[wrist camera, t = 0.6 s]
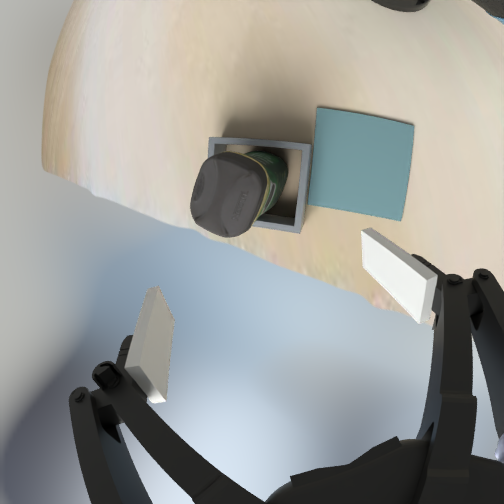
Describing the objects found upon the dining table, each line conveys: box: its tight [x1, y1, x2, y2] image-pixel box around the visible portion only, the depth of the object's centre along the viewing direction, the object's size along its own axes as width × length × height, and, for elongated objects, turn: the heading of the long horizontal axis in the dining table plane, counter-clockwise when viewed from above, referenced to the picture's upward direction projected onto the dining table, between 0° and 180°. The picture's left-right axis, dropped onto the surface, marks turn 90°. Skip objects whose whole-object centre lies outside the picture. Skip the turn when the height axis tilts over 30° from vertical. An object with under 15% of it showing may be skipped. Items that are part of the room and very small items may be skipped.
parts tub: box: [208, 137, 312, 234], centre depth 42 cm, size 13×15×5 cm
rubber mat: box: [308, 108, 414, 221], centre depth 39 cm, size 16×16×1 cm
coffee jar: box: [190, 151, 288, 237], centre depth 36 cm, size 10×8×19 cm
